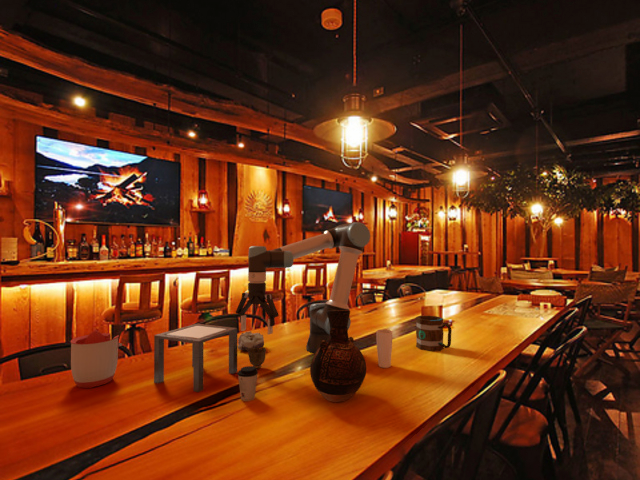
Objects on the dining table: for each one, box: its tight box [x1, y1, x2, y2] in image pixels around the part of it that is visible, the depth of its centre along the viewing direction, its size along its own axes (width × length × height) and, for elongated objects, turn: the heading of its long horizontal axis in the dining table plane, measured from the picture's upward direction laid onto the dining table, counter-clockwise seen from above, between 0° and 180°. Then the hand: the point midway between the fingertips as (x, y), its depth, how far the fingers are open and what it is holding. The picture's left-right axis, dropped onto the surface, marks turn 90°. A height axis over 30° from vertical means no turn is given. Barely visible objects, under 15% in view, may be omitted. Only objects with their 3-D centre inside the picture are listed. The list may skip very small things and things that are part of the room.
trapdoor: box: [166, 326, 227, 339], centre depth 138 cm, size 17×16×1 cm
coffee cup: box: [237, 365, 259, 402], centre depth 119 cm, size 7×7×10 cm
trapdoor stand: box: [153, 323, 238, 393], centre depth 138 cm, size 22×22×18 cm
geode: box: [237, 331, 265, 352], centre depth 177 cm, size 17×9×15 cm
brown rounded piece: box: [247, 347, 267, 370], centre depth 148 cm, size 8×7×8 cm
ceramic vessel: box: [309, 309, 367, 403], centre depth 119 cm, size 21×18×30 cm
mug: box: [415, 315, 453, 352], centre depth 175 cm, size 20×14×15 cm
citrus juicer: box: [70, 329, 123, 389], centre depth 134 cm, size 16×17×20 cm
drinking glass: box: [375, 329, 393, 369], centre depth 150 cm, size 7×7×15 cm
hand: (256, 332), depth 148 cm, fingers open, 13 cm apart
